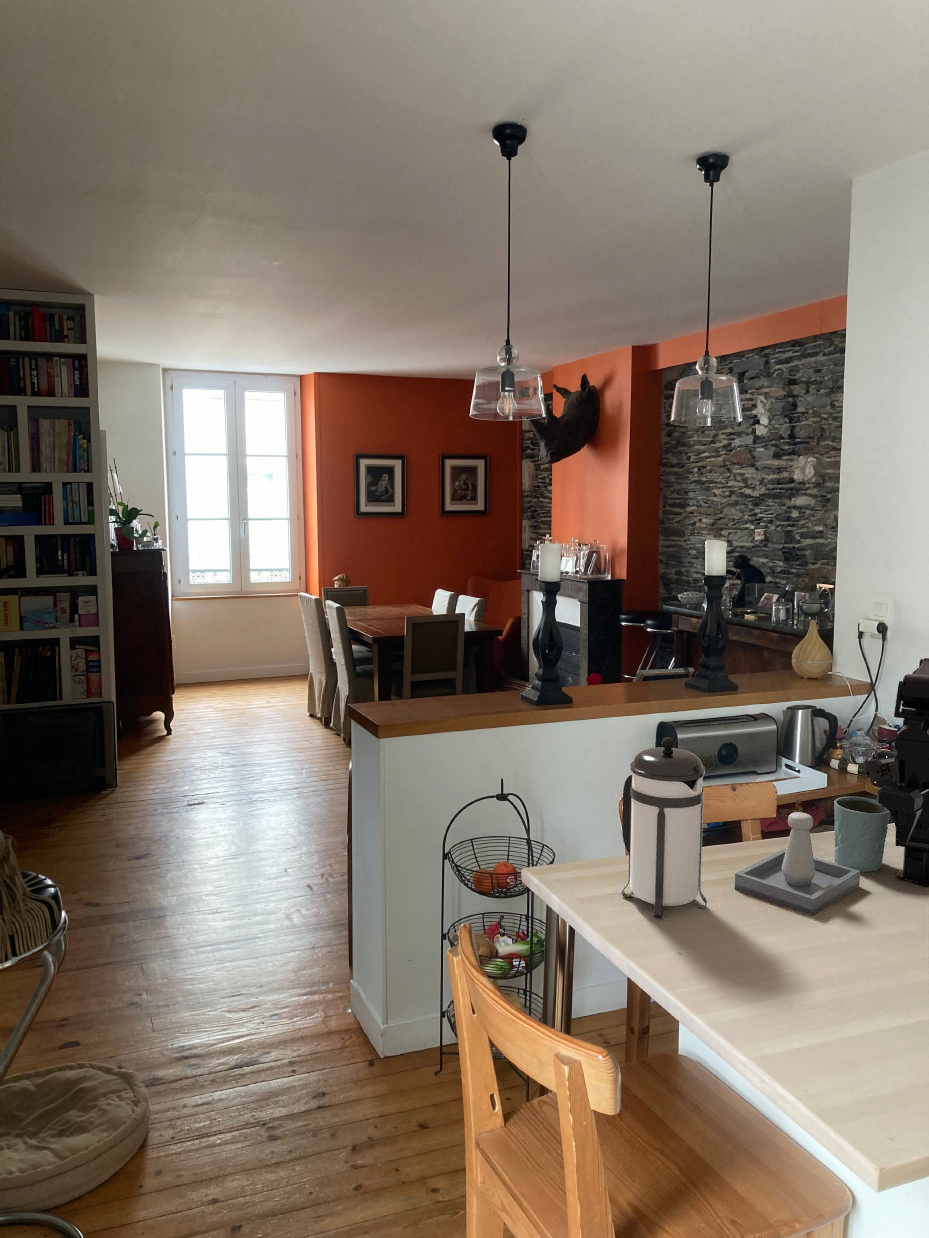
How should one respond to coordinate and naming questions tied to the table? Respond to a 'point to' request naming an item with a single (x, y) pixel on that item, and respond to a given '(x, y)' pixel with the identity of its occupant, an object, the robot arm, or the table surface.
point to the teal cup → (860, 833)
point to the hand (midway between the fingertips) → (914, 835)
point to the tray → (811, 899)
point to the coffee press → (664, 826)
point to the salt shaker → (799, 851)
